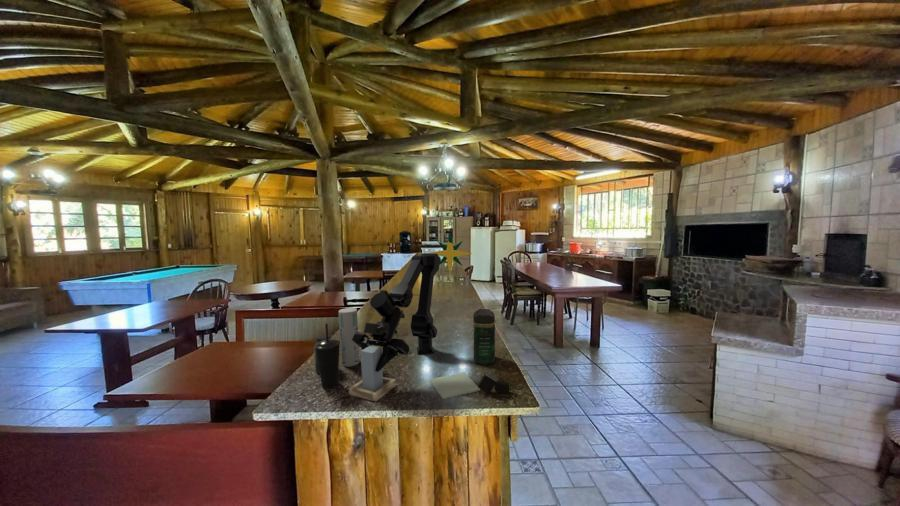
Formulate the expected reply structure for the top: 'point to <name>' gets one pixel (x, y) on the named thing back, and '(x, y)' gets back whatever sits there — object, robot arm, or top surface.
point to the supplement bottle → (315, 350)
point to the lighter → (493, 384)
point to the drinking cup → (328, 360)
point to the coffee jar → (484, 336)
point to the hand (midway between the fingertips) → (369, 369)
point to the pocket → (374, 396)
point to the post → (371, 368)
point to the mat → (454, 385)
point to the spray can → (348, 336)
